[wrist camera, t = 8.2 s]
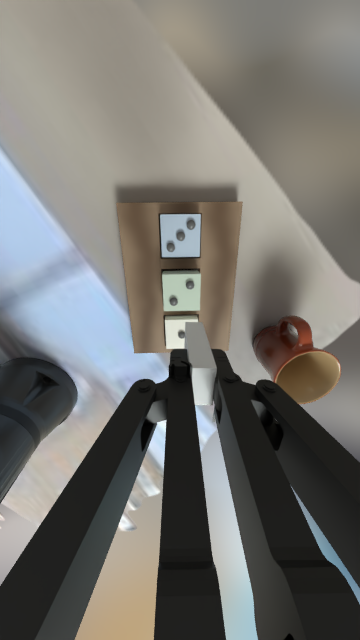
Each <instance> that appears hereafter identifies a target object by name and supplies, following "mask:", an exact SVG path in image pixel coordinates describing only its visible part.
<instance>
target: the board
mask: <svg viewBox="0 0 360 640" xmlns="http://www.w3.org/2000/svg"><path fill="white" fill-rule="evenodd" d="M242 203H243V202H156V203H116V205H117V213H118V221H119V229H120V238H121V246H122V254H123V263H124V271H125V279H126V288H127V296H128V304H129V313H130V321H131V329H132V337H133V346H134V353H164V352H171V351H172V350H173V349H166V341H165V323H164V315H188V314H197V317H198V322H202V323H203V326H204V329H205V332H206V335H207V338H208V342H209V345H210V348H211V349H221V350H223V351H228V349H229V338H230V328H231V318H232V307H233V297H234V287H235V276H236V266H237V255H238V245H239V235H240V224H241V214H242ZM162 214H201V224H200V257H176V258H161V238H160V217H159V215H162ZM198 268H199V270H198V271H199V272H200V273H201V287H200V310H197V311H164V304H163V283H162V269H198ZM183 349H184V348H183Z"/></svg>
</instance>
